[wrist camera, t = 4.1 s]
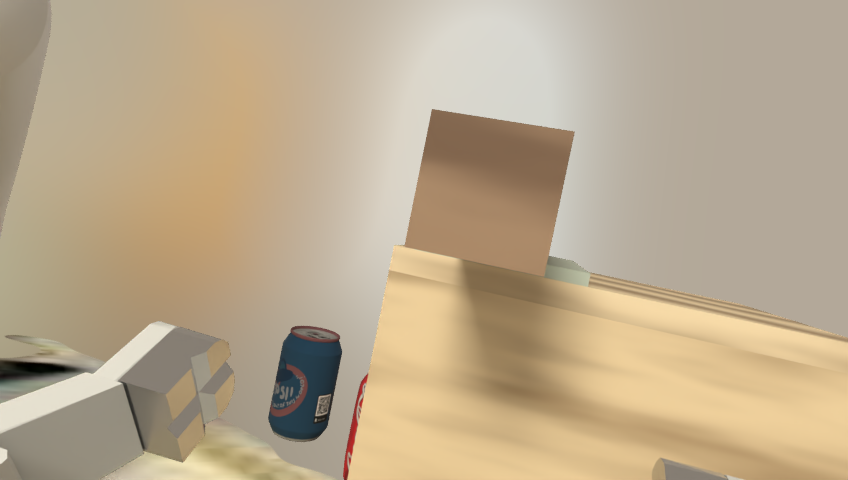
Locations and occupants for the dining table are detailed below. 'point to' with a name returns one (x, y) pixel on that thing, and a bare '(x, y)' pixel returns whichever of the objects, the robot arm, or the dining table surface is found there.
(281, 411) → the soda can
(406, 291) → the stand
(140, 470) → the dining table surface
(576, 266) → the felt pad
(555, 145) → the stool leg
